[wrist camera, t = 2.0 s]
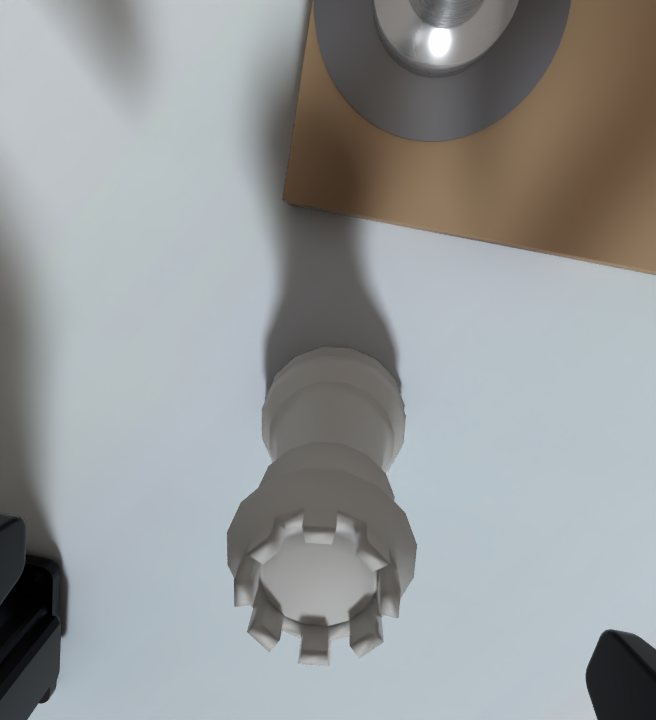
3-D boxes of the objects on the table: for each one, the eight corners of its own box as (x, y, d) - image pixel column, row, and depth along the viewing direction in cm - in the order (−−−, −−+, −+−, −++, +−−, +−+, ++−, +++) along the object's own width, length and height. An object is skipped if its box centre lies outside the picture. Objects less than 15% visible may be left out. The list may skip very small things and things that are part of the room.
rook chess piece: (382, 484, 15) (418, 741, 7) (255, 453, 15) (150, 678, 7) (420, 361, 14) (511, 505, 6) (282, 327, 14) (194, 429, 6)
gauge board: (288, 204, 13) (282, 199, 11) (356, -238, 10) (358, -307, 9) (826, 307, 13) (878, 314, 11) (1026, -110, 10) (1120, -161, 9)
